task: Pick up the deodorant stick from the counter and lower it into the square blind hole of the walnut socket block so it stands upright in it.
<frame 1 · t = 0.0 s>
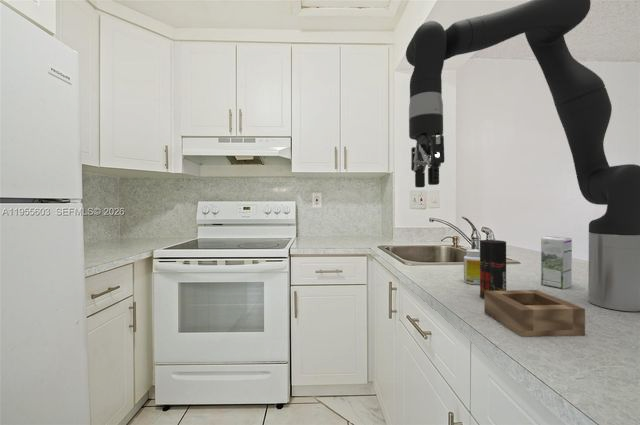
hand: (426, 186, 68), 29 cm above the countertop, tool pointing down, fingers open, 8 cm apart
syrup box: (556, 286, 87), on the countertop
supplement bottle: (473, 283, 91), on the countertop
deodorant: (493, 298, 76), on the countertop
socket block: (529, 322, 60), on the countertop
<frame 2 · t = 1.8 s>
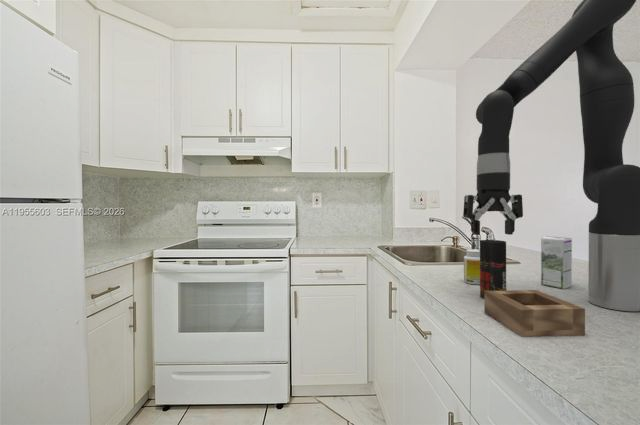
hand: (492, 234, 76), 17 cm above the countertop, tool pointing down, fingers open, 8 cm apart
nothing on the countertop moved.
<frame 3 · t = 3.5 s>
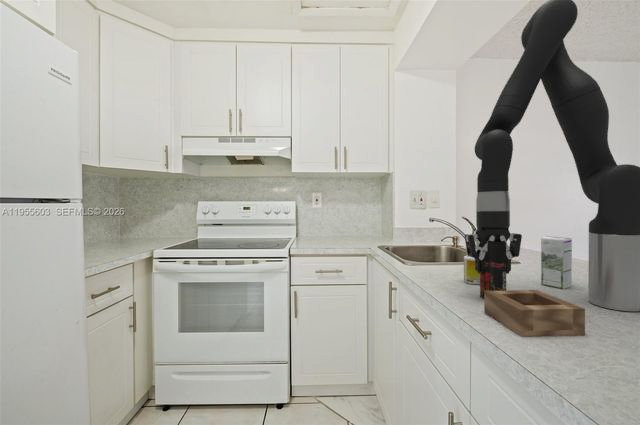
hand: (492, 273, 76), 7 cm above the countertop, tool pointing down, fingers closed on deodorant, 6 cm apart
deodorant: (493, 298, 76), on the countertop, touching gripper
everything else where it was.
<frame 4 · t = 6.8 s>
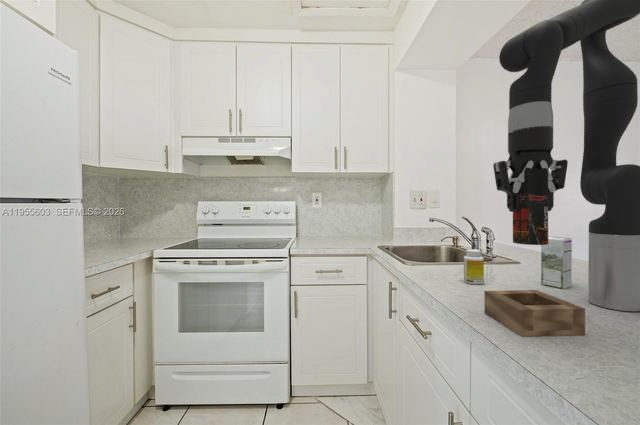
hand: (529, 211, 60), 23 cm above the countertop, tool pointing down, fingers closed on deodorant, 6 cm apart
deodorant: (529, 243, 60), point 16 cm above the countertop, touching gripper
everything else where it was.
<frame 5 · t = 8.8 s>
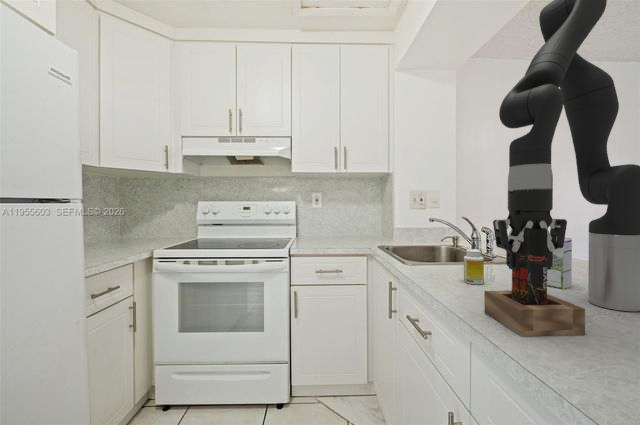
hand: (529, 268, 60), 11 cm above the countertop, tool pointing down, fingers closed on deodorant, 6 cm apart
deodorant: (528, 301, 60), point 4 cm above the countertop, touching gripper
everything else where it was.
when the fingers open (10 cm above the countertop, at t = 10.2 s): deodorant drops 2 cm, resting on socket block.
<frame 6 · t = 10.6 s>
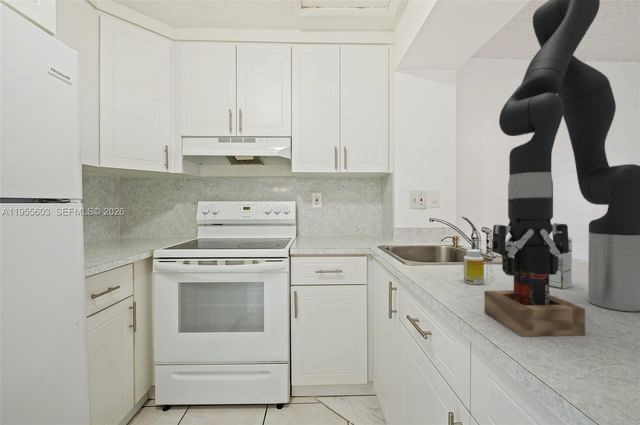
hand: (529, 274, 60), 10 cm above the countertop, tool pointing down, fingers open, 8 cm apart
deodorant: (530, 318, 60), point 1 cm above the countertop, touching socket block
everything else where it was.
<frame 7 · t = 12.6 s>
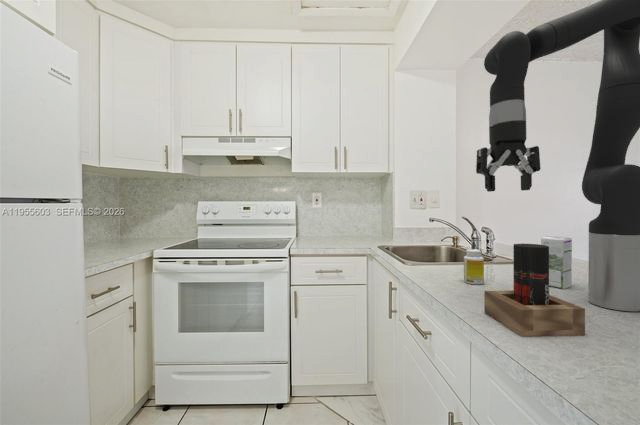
hand: (508, 190, 70), 28 cm above the countertop, tool pointing down, fingers open, 8 cm apart
nothing on the countertop moved.
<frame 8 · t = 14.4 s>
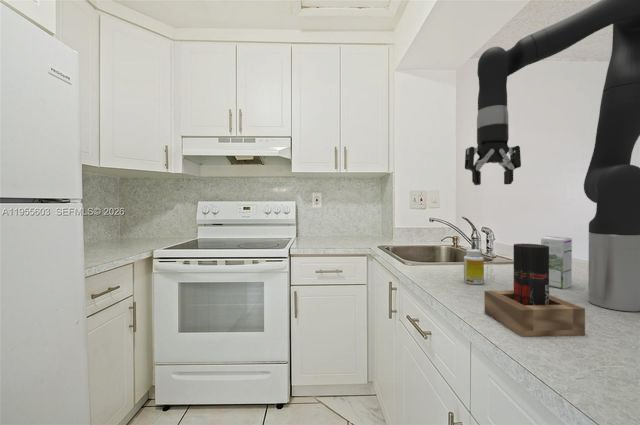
hand: (492, 184, 81), 30 cm above the countertop, tool pointing down, fingers open, 8 cm apart
nothing on the countertop moved.
at the end: deodorant 0.3 cm off-centre on the socket block, point 0.9 cm above the socket block's base; deodorant tilted 0°; the gripper is holding nothing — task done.
